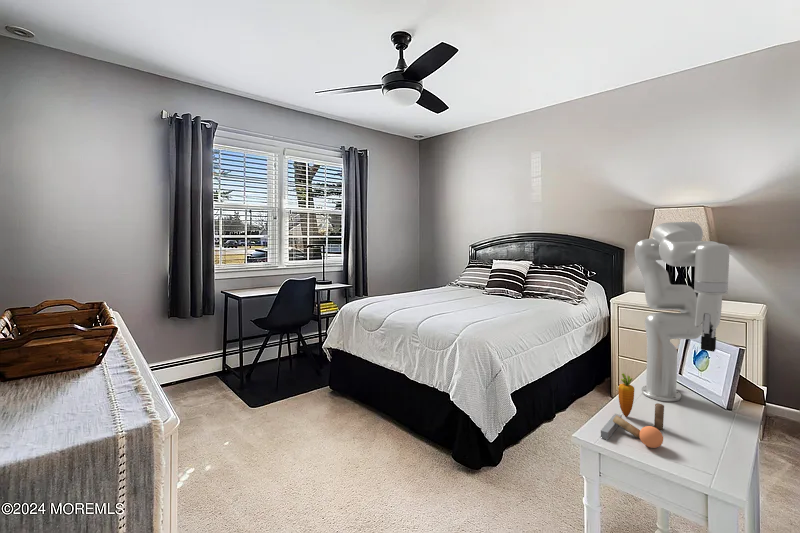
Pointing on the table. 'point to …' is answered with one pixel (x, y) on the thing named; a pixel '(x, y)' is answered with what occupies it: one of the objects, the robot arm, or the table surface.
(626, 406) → the carrot
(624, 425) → the oak pin
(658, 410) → the walnut pin
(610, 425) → the back wall
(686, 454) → the table surface
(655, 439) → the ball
